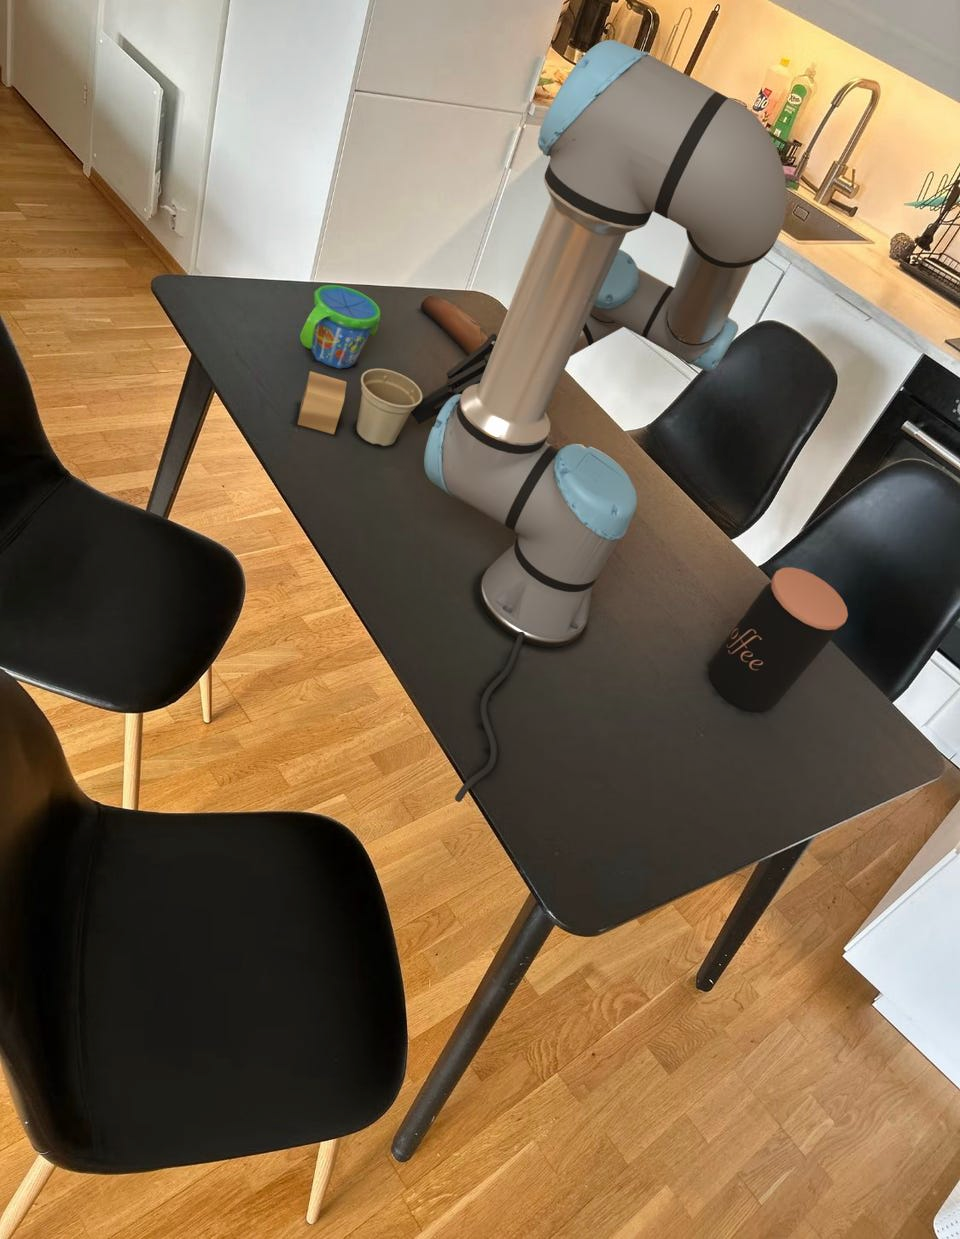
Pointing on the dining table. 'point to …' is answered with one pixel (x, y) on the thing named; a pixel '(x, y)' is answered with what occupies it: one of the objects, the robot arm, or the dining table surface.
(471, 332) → the sunglasses case
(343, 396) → the maple block
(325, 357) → the snack cup
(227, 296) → the dining table surface
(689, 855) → the dining table surface
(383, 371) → the flower pot
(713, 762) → the dining table surface
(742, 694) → the coffee jar
